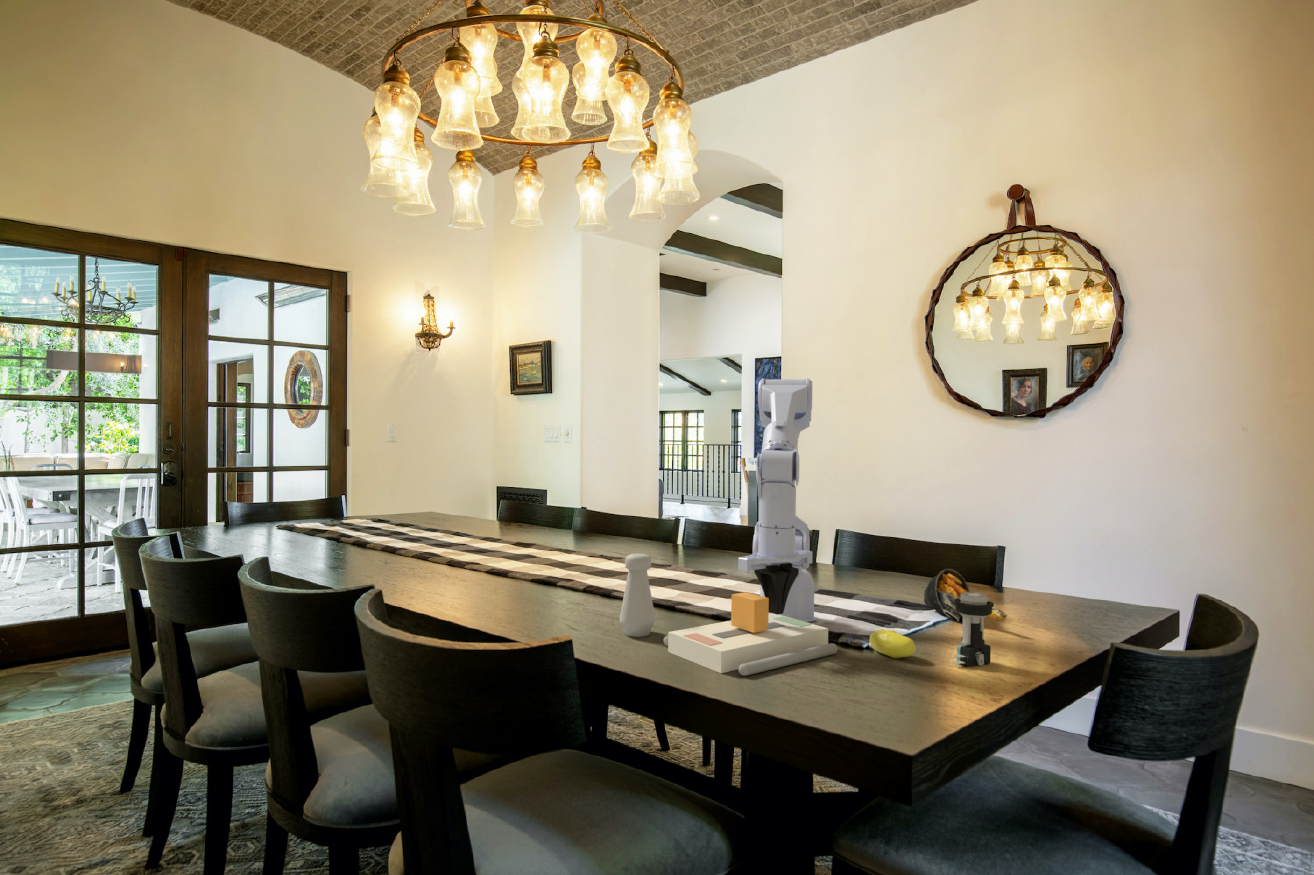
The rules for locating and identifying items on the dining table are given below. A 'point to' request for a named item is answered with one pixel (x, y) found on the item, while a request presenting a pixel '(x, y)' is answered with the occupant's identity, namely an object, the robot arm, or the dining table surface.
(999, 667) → the dining table surface
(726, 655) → the breaker panel
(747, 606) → the block
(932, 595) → the fried shrimp in bowl
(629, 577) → the salt shaker
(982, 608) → the push button
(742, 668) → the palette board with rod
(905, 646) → the lemon
